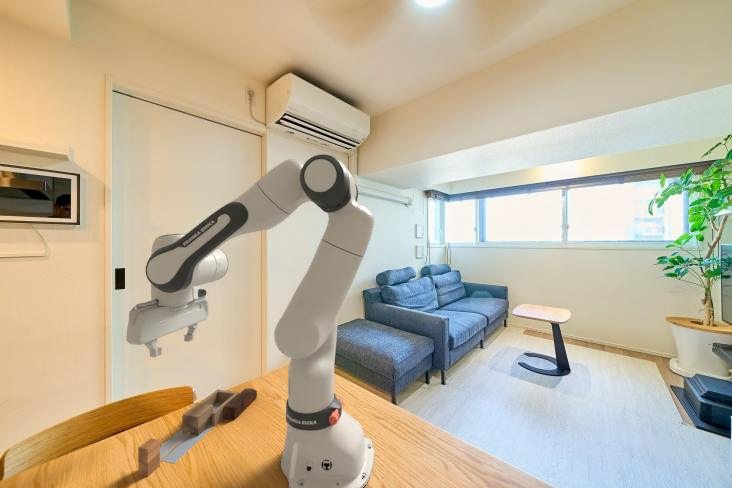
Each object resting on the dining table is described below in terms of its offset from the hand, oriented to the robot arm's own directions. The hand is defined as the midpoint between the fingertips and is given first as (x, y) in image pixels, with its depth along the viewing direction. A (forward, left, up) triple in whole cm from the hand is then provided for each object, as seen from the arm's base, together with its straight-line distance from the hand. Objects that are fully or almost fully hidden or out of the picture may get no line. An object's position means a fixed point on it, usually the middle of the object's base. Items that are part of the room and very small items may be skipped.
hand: (173, 347), depth 66 cm
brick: (-10, -13, -25) cm, 30 cm away
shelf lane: (-4, -4, -25) cm, 25 cm away
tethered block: (-4, +2, -24) cm, 24 cm away
